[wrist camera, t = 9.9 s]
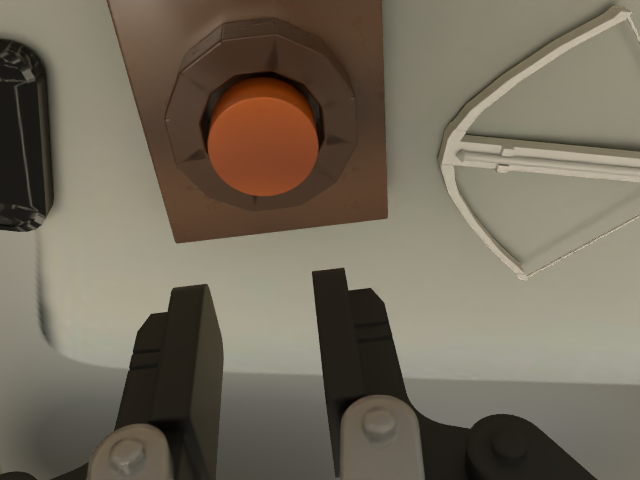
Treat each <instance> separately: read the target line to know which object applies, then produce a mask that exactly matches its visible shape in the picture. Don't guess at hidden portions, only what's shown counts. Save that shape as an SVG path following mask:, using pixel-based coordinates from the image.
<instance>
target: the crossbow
mask: <svg viewBox="0 0 640 480" xmlns="http://www.w3.org/2000/svg"><path fill="white" fill-rule="evenodd" d="M632 13H633V12H631V11H629V10H628V9H626V8H625V7H619V6H611V7H610V8H609V9H608V10H607V11H606V12H605V13H604V14H602V15H600V16H598V17H597V18H595V19H593V20H591V21H589V22H587V23H585V24H584V25H582V26H580V27H578V28H576V29H574V30H572V31H571V32H569V33H567V34H565V35H563V36H561V37H559V38H558V39H556V40H554V41H552V42H551V43H549V44H548V45H546V46H545V47H543V48H542V49H540V50H539V51H537V52H536V53H534V54H533V55H531V56H530V57H528V58H527V59H525V60H524V61H522V62H521V63H519V64H518V65H516V66H515V67H513V68H512V69H510V70H509V71H507V72H506V73H504V74H503V75H502V76H500V77H499V78H498V79H497V80H495V81H494V82H493V83H492V84H490V85H489V86H488V87H487V88H486V89H484V90H483V91H482V92H481V93H479V94H478V95H477V96H476V97H474V98H473V99H472V100H471V101H469V102H468V103H467V104H466V105H465V106H464V108H463V109H462V110H461V111H460V113H459V114H458V115H457V116H456V118H455V119H454V120H453V121H452V122H450V123H449V125H448V126H447V128H446V129H445V131H444V136H443V141H442V145H441V149H440V153H439V156H438V161H439V166H440V169H441V172H442V175H443V177H444V181H445V185H446V187H447V190H448V193H449V195H450V196H451V198H452V199H453V201H454V202H455V204H456V206H457V207H458V209H459V210H460V212H461V214H462V215H463V217H464V218H465V220H466V221H467V223H468V224H469V225H470V226H471V227H472V229H473V230H474V231H475V232H476V233H477V234H478V236H479V237H480V238H481V239H482V240H483V242H484V243H485V244H486V245H487V246H488V248H489V249H490V250H491V251H492V252H493V253H494V254H495V255H496V256H498V257H499V258H500V259H501V260H502V261H503V262H504V263H505V264H506V265H508V266H509V267H510V268H511V269H512V270H513V271H514V272H515V273H516V274H517V276H518V279H519V280H528V279H527V278H528V277H530V276H532V275H534V274H536V273H537V272H539V271H541V270H543V269H545V268H547V267H549V266H550V265H552V264H554V263H556V262H558V261H560V260H561V259H563V258H565V257H567V256H569V255H571V254H573V253H574V252H576V251H578V250H580V249H582V248H584V247H586V246H587V245H589V244H591V243H593V242H595V241H597V240H598V239H600V238H602V237H604V236H606V235H608V234H610V233H611V232H613V231H615V230H617V229H619V228H621V227H623V226H624V225H626V224H628V223H630V222H632V221H634V220H635V219H637V218H639V217H640V215H638V216H636V217H634V218H632V219H630V220H628V221H627V222H625V223H623V224H621V225H619V226H617V227H616V228H614V229H612V230H610V231H608V232H606V233H604V234H603V235H601V236H599V237H597V238H595V239H593V240H592V241H590V242H588V243H586V244H584V245H582V246H581V247H579V248H577V249H575V250H573V251H571V252H569V253H568V254H566V255H564V256H562V257H560V258H558V259H557V260H555V261H553V262H551V263H549V264H547V265H545V266H544V267H542V268H540V269H538V270H536V271H534V272H533V273H531V274H529V275H527V276H526V274H525V272H524V270H523V268H522V266H521V264H520V263H519V262H517V261H516V260H515V259H514V258H513V257H512V256H511V255H510V254H509V253H508V252H507V251H505V250H504V249H503V248H502V247H501V246H500V245H499V244H498V243H497V242H496V241H495V240H494V239H493V237H492V236H491V235H490V234H489V233H488V231H487V230H486V229H485V228H484V226H483V225H482V224H481V223H480V222H479V220H478V219H477V218H476V217H475V216H474V214H473V213H472V211H471V210H470V208H469V207H468V205H467V203H466V202H465V200H464V199H463V197H462V195H461V194H460V192H459V190H458V189H457V186H456V182H455V178H454V176H455V173H454V167H453V165H460V166H470V167H481V168H492V169H495V170H496V171H497V172H502V173H508V170H513V171H524V172H535V173H545V174H556V175H567V176H578V177H588V178H599V179H610V180H621V181H631V182H640V152H637V151H627V150H616V149H606V148H596V147H585V146H575V145H565V144H554V143H544V142H534V141H524V140H513V139H503V138H493V137H482V136H472V135H465V133H466V132H467V131H466V130H467V129H468V128H469V126H470V125H471V124H472V123H473V122H474V120H475V119H476V118H477V117H478V116H479V114H480V113H481V112H482V111H483V110H485V109H486V108H487V107H488V106H490V105H491V104H492V103H493V102H495V101H496V100H497V99H498V98H500V97H501V96H502V95H504V94H505V93H506V92H507V91H509V90H510V89H511V88H512V87H514V86H515V85H516V84H517V83H519V82H520V81H522V80H523V79H525V78H526V77H528V76H529V75H531V74H532V73H534V72H535V71H537V70H538V69H540V68H541V67H543V66H545V65H546V64H548V63H549V62H551V61H552V60H554V59H555V58H557V57H558V56H560V55H561V54H563V53H564V52H566V51H567V50H569V49H571V48H572V47H574V46H576V45H578V44H580V43H582V42H583V41H585V40H587V39H589V38H591V37H593V36H595V35H597V34H599V33H600V32H602V31H604V30H606V29H608V28H610V27H612V26H614V25H615V24H617V23H619V22H621V21H624V20H625V19H628V21H629V23H630V25H631V27H632V29H633V31H634V33H635V35H636V37H637V39H638V41H639V43H640V36H639V34H638V32H637V30H636V28H635V26H634V24H633V22H632V20H631V18H630V15H631V14H632Z"/></svg>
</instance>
